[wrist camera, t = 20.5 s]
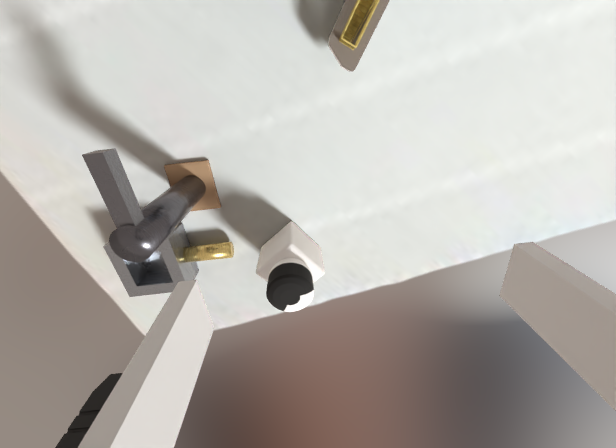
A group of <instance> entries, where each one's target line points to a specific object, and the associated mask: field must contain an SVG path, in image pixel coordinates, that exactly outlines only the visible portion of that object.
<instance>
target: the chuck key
mask: <svg viewBox="0 0 616 448" xmlns="http://www.w3.org/2000/svg"><path fill="white" fill-rule="evenodd" d="M82 156H83V158H84V160H85V162H86V164H87V166H88V168H89V171H90V173H91V175H92V177H93V179H94V181H95V183H96V185H97V187H98V189H99V191H100V194H101V196H102V198H103V200H104V202H105V204H106V206H107V208H108V210H109V212H110V214H111V216H112V219H113V221H114V223H115V225H116V227H117V229H116V230H115V231H113V232H112V234H111V235H110V238H109V243H110V246H111V249H112V250H113V251H114V253H115V254H116V255H117V256H119V257H120V258H122V259H124V260H126V261H129V262H143V261H145V260H147V259H148V258H150V256H151V255H152V254H153V253H154V252H155V251H156V250H157V248H158V247H159V246H160V245H161V244H162V243H163V242H164V240H165V239H166V238H167V237H168V236H169V235H170V234H171V232H172V231H173V230H174V229H175V228H176V227H177V226H178V224H179V223H180V222H181V221H182V220H183V219H184V218H185V216H186V215H187V214H188V213H189V212H190V211H191V210H192V208H193V207H194V206H195V205H196V204H197V203H198V201H199V200H200V199H201V198H202V197H203V196H204V194H205V192H206V186H205V184H204V182H203V181H202V180H201V179H200V178H199V177H197V176H194V175H188V176H185V177H183V178H182V179H181V180H179V181H178V182H177V183H176V184H174V185H173V186H172V187H170V188H169V189H168V190H166V191H165V192H164V193H163V194H161V195H160V196H159V197H157V198H156V199H155V200H154V201H152V202H151V203H150V204H148V205H147V206H146V207H144V208H143V209H142V210H141V209H140V206H139V204H138V201H137V199H136V197H135V194H134V192H133V190H132V187H131V185H130V182H129V180H128V178H127V175H126V173H125V170H124V168H123V166H122V163H121V161H120V159H119V156H118V154H117V151H116V149H107V150H98V151H93V152H90V153H87V154H83V155H82Z"/></svg>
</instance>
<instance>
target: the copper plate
mask: <svg viewBox="0 0 616 448" xmlns="http://www.w3.org/2000/svg"><path fill="white" fill-rule="evenodd" d="M164 168H165V171H166V174H167V177H168V180H169V183H170V186H171V187H172V186H173V185H174V184H176V183H177V182H178V181H179V180H181V179H182V178H183V177H185V176H188V175H194V176H197V177H199V178H200V179H201V180H202V181H203V182H204V184H205V186H206V192H205V194H204V196H203V197H202V198H201V199H200V200H199V201H198V203H197V204H196V205H195V206H194V207H193V208H192V210H191V211H197V210H206V209H215V208H220V207H221V204H220V201H219V197H218V193H217V190H216V186H215V182H214V178H213V175H212V171H211V167H210V164H209V160H204V161H195V162H186V163H177V164H168V165H164Z"/></svg>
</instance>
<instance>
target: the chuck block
mask: <svg viewBox="0 0 616 448" xmlns="http://www.w3.org/2000/svg"><path fill="white" fill-rule="evenodd" d="M103 247H104V249H105V251H106V252H107V254H108V256H109V258H110V260H111V262H112V264H113V266H114V268H115V270H116V272H117V273H118V275H119V277H120V279H121V281H122V283H123V285H124V287H125V289H126V291H127V293H128V294H129V296H130V297H133V296H142V295H151V294H160V293H168V292H173V290H174V288H175V287H176V285H177V283H178V282H181V281H190V280H194V279H195V277H196V275H197V273H198V271H199V269H198V266H197V264H196V261H204V260H213V259H222V258H231V257H233V255H234V248H233V244H232V242H225V243H216V244H207V245H199V246H190V244H189V241H188V238H187V235H186V232H185V229H184V227H183V224H182V223H179V224H178V226H177V227H176V228H175V229H174V230H173V231H172V232H171V234H170V235H169V236H168V237H167V238H166V239H165V240H164V242H163V243H162V244H161V245H160V246H159V247H158V248H157V250H156V251H155V252H154V253H153V254H152V255H151V256H150V258H148V259H147V260H145V261H143V262H129V261H126V260H124V259H122V258H120V257H119V256H117V255H116V254H115V253H114V251H113V250H112V249H111V246H110V243H109V242H108V243H107V244H106V245H105V246H103Z"/></svg>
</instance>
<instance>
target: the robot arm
mask: <svg viewBox="0 0 616 448" xmlns="http://www.w3.org/2000/svg"><path fill="white" fill-rule="evenodd" d="M499 296H500V297H501V298H502V299H503V300H504V301H505V302H506V303H507V304H508V305H509V306H510V307H511V308H512V309H513V310H514V311H515V312H516V313H517V314H519V316H521V317H522V319H523V320H524V321H525V322H526V323H527V324H528V325H529V326H530V327H531V328H533V329H534V330H535V331H536V332H537V333H538V334H539V335H540V336H541V337H542V338H543V339H544V340H545V341H546V342H547V343H548V344H549V345H550V346H551V347H552V348H553V349H554V350H555V351H556V352H557V353H558V354H559V355H560V356H561V357H562V358H563V359H564V360H565V361H566V362H567V363H568V364H569V365H570V366H571V367H572V368H573V369H574V370H575V371H576V372H577V373H578V374H579V375H580V376H581V377H582V378H583V379H584V380H585V381H586V382H587V383H588V384H589V385H590V386H591V387H592V388H593V389H594V390H595V391H596V392H597V393H598V394H599V395H600V396H601V397H602V398H603V399H604V400H605V401H606V402H607V403H608V404H609V405H610V406H611V407H612V408H613V409H614V410H615V411H616V294H615V293H613V292H611V291H610V290H608V289H607V288H605V287H604V286H602V285H600V284H599V283H597V282H596V281H594V280H592V279H591V278H589V277H588V276H586V275H584V274H583V273H581V272H580V271H578V270H576V269H575V268H573V267H572V266H570V265H569V264H567V263H565V262H564V261H562V260H561V259H559V258H557V257H556V256H554V255H553V254H551V253H549V252H548V251H546V250H545V249H543V248H542V247H540V246H538V245H537V244H535V243H534V242H528V243H519V244H514V247H513V250H512V253H511V258H510V260H509V264H508V267H507V271H506V274H505V278H504V282H503V285H502V288H501V292H500V295H499ZM213 330H214V325H213V323H212V320H211V317H210V314H209V312H208V309H207V306H206V303H205V301H204V298H203V295H202V292H201V290H200V287H199V284H198V281H197V280H190V281H181V282H178V283H177V285H176V287H175V288H174V290H173V292H172V293H171V295H170V296H169V298H168V300H167V301H166V303H165V305H164V306H163V308H162V310H161V311H160V313H159V315H158V316H157V318H156V320H155V321H154V323H153V324H152V326H151V328H150V329H149V331H148V333H147V334H146V336H145V338H144V339H143V341H142V343H141V344H140V346H139V348H138V349H137V351H136V352H135V354H134V356H133V357H132V359H131V361H130V362H129V364H128V366H127V367H126V369H125V371H124V372H123V373H118V374H111V375H109V376H108V377H107V379H105V381H103V382H102V383H101V384H100V385H99V386H98V387H97V388H96V389H95V390H94V391H93V392H92V394H91V395H90V397H89V398H88V400H87V401H86V403H85V404H84V406H83V407H82V409H81V410H80V414H79V416H76V418H75V419H74V421H73V422H72V424H71V425H70V427H69V428H68V432H67V433H66V434H64V436H63V437H62V439H61V440H60V442H59V443H58V445H57V446H56V448H174V445H175V442H176V439H177V436H178V433H179V430H180V427H181V424H182V421H183V418H184V416H185V412H186V410H187V407H188V403H189V401H190V398H191V395H192V392H193V389H194V386H195V383H196V380H197V377H198V374H199V371H200V368H201V365H202V362H203V359H204V356H205V353H206V350H207V347H208V344H209V341H210V339H211V335H212V333H213Z"/></svg>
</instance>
